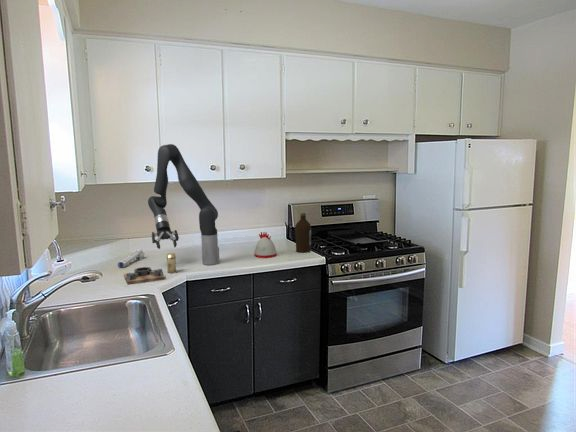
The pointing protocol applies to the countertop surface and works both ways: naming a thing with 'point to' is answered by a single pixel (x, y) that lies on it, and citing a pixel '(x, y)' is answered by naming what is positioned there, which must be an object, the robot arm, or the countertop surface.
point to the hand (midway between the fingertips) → (167, 247)
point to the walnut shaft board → (144, 279)
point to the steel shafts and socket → (143, 273)
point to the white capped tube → (131, 258)
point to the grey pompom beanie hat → (265, 247)
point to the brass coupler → (171, 263)
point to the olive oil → (303, 235)
